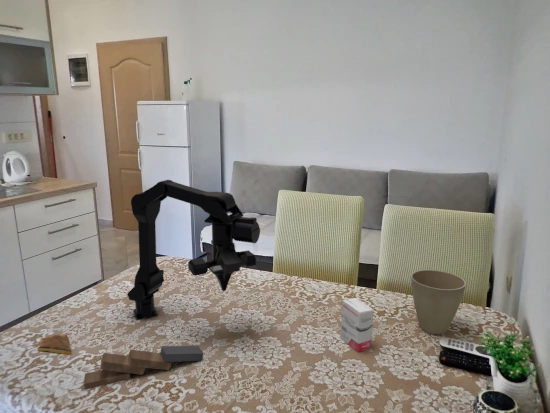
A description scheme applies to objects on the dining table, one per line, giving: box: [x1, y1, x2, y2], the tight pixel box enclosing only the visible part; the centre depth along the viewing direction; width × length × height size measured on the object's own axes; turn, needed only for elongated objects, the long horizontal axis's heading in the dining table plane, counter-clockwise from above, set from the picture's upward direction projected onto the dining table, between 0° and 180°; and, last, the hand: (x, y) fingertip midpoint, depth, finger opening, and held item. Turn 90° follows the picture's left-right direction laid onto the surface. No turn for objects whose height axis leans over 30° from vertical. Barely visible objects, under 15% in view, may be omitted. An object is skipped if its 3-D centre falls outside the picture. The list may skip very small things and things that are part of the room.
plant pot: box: [410, 269, 467, 335], centre depth 120 cm, size 15×15×16 cm
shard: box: [37, 333, 72, 355], centre depth 109 cm, size 11×8×2 cm
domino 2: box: [100, 352, 146, 375], centre depth 98 cm, size 2×4×10 cm
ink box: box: [340, 297, 374, 353], centre depth 112 cm, size 8×5×12 cm, turn 26°
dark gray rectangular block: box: [159, 345, 204, 363], centre depth 104 cm, size 2×4×10 cm
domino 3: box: [127, 349, 173, 371], centre depth 100 cm, size 2×4×10 cm
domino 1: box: [83, 369, 131, 390], centre depth 97 cm, size 2×4×10 cm
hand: (223, 290), depth 116 cm, fingers closed
